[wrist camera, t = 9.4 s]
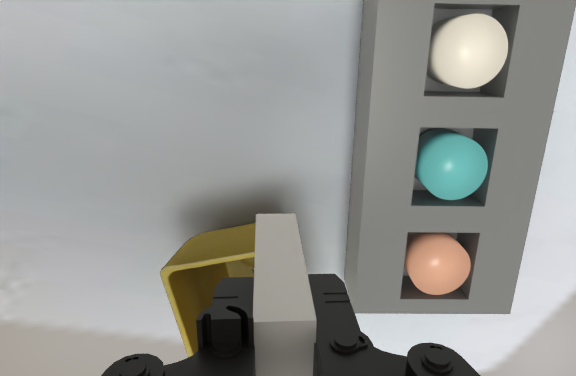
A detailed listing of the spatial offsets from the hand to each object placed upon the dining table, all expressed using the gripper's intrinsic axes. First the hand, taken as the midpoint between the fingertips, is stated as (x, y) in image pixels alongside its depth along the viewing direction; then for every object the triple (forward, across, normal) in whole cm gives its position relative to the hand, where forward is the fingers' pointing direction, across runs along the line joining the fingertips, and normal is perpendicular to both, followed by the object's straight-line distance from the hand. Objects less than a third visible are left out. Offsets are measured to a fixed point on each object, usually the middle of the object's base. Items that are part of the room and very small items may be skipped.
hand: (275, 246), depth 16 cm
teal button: (+15, +12, -1) cm, 20 cm away
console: (+17, +13, -1) cm, 21 cm away
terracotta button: (+15, +12, -8) cm, 21 cm away
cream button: (+15, +13, +7) cm, 21 cm away
